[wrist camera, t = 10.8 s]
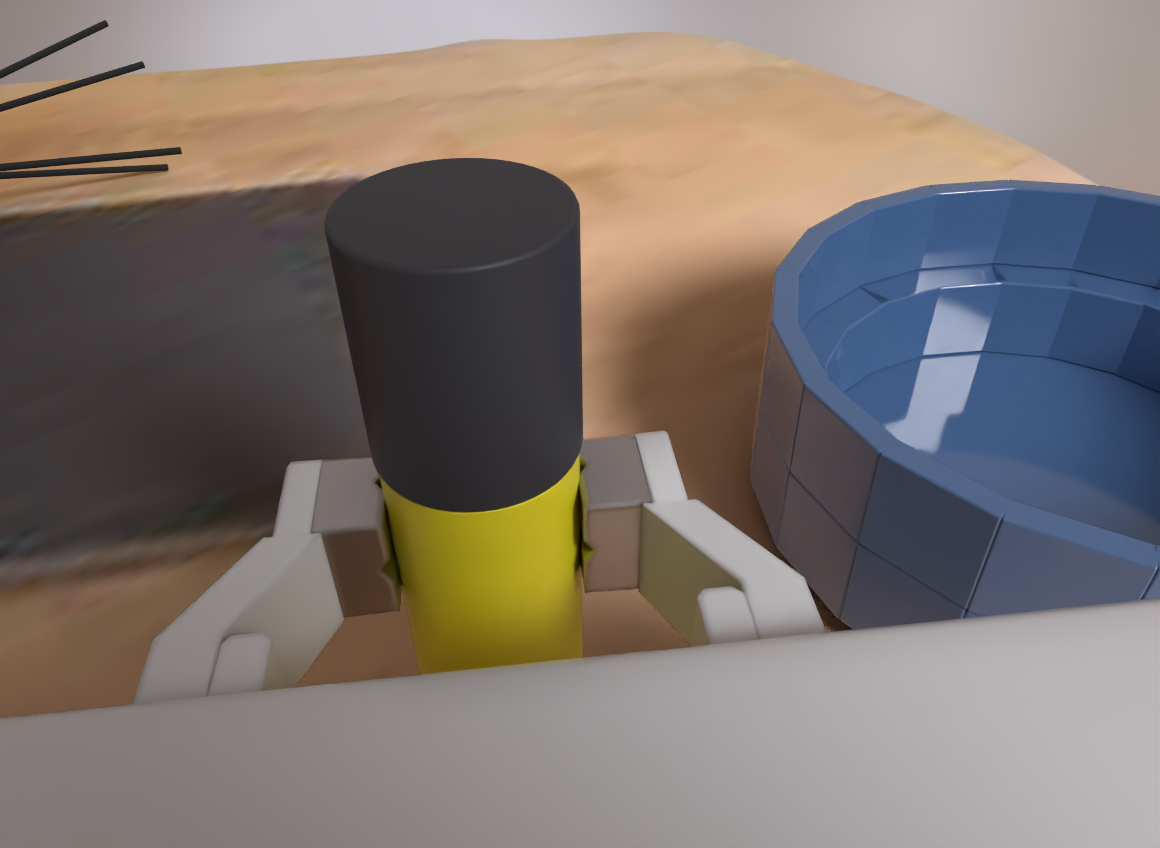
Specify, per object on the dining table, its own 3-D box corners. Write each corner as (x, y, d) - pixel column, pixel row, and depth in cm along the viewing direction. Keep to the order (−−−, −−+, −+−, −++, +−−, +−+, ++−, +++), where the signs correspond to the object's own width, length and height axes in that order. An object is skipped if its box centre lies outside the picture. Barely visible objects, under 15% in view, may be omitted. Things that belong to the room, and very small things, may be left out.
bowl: (867, 816, 17) (932, 632, 14) (695, 360, 29) (707, 199, 26) (1594, 726, 18) (1823, 536, 15) (1146, 323, 30) (1216, 164, 27)
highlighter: (433, 825, 16) (308, 278, 9) (435, 686, 18) (335, 162, 11) (596, 806, 16) (594, 259, 9) (578, 671, 19) (566, 149, 12)
